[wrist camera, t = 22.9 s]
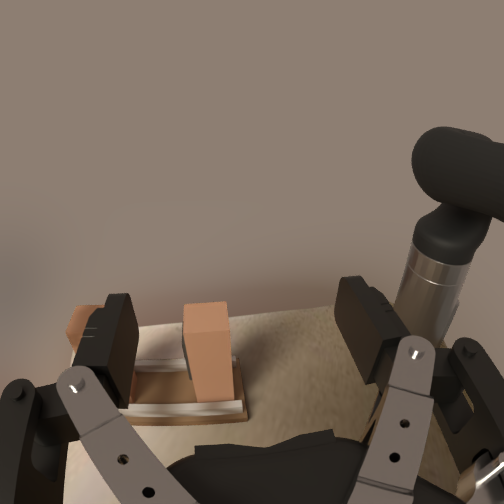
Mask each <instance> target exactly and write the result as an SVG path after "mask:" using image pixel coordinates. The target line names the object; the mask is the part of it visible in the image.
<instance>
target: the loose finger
mask: <svg viewBox="0 0 504 504" xmlns="http://www.w3.org/2000/svg"><path fill="white" fill-rule="evenodd" d="M182 347H183V352H184V357H185V361H186V366H187V370H188V375H189V379H190V380H193V384H194V389H195V393H196V398H197V402H198V403H208V402H223V401H234V387H233V373H232V358H231V342H230V328H229V320H228V312H227V304H226V301H224V302H211V303H196V304H184V321H183V328H182Z"/></svg>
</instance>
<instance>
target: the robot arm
mask: <svg viewBox="0 0 504 504" xmlns="http://www.w3.org/2000/svg"><path fill="white" fill-rule="evenodd" d="M412 168H413V173H414V176H415V179H416V180H417V182H418V184H419V186H420V187H421V188H422V190H423V191H424V192H425V193H426V194H427V195H428V196H430V197H431V198H432V199H434V200H436V201H438V202H441V203H442V204H441V205H440V206H439V207H438V208H437V209H435V210H434V211H432V212H431V213H429V214H427V215H425V216H423V217H422V218H421V219H419V221H418V222H417V224H416V226H415V230H414V234H413V239H412V242H411V246H410V250H409V254H408V258H407V262H406V266H405V270H404V273H403V277H402V280H401V284H400V287H399V290H398V294H397V297H396V300H395V303H394V307H392V306H391V304H389V302H388V300H387V299H386V297H385V296H384V295H383V294H382V293H381V292H380V291H378V290H377V289H376V288H374V287H369V286H368V285H367V284H366V282H365V281H364V279H363V278H362V277H361V276H349V277H342V278H341V279H340V282H339V288H338V293H337V298H336V303H335V309H334V315H335V321H336V324H337V326H338V328H339V330H340V332H341V334H342V336H343V338H344V340H345V342H346V344H347V346H348V349H349V351H350V353H351V355H352V357H353V359H354V361H355V363H356V366H357V368H358V370H359V372H360V374H361V376H362V378H363V381H364V383H365V385H367V384H371V383H376V384H377V386H378V388H379V390H378V393H377V395H376V398H375V401H374V404H373V407H372V410H371V413H370V415H369V418H368V421H367V423H366V426H365V429H364V431H363V433H362V435H361V437H360V439H359V442H358V441H355V440H352V439H347V438H340V437H335V436H334V433H333V430H332V429H329V430H324V431H319V432H313V433H308V434H302V435H299V436H296V437H294V438H291V439H289V440H286V441H284V442H281V443H278V444H276V445H273V446H270V447H266V448H261V447H252V446H243V445H235V444H218V445H199V446H195V454H194V455H190V456H187V457H185V458H182V459H180V460H178V461H176V462H174V463H173V464H171V465H170V466H168V467H167V468H165V467H164V466H163V464H162V463H161V462H160V461H159V460H158V459H157V457H156V456H155V455H154V454H153V453H152V451H151V450H150V449H149V448H148V446H147V445H146V444H145V443H144V441H143V440H142V439H141V438H140V436H139V435H138V434H137V432H136V431H135V430H134V428H133V427H132V426H131V424H130V423H129V422H128V420H127V419H126V418H125V416H124V415H123V414H122V413H120V412H119V410H118V409H128V406H129V398H130V391H131V384H132V378H133V371H134V365H135V359H136V353H137V347H138V341H139V329H138V323H137V320H136V316H135V313H134V310H133V305H132V302H131V298H130V295H129V294H128V293H124V294H123V293H122V294H109V295H108V297H107V300H106V303H105V305H104V308H97V309H96V310H95V311H94V312H93V313H92V314H91V315H90V316H89V318H88V321H87V323H86V326H85V329H84V332H83V334H82V337H81V340H80V343H79V346H78V349H77V352H76V355H75V358H74V361H73V364H72V367H70V368H68V369H67V370H65V371H64V372H62V374H61V375H60V376H59V378H58V380H57V382H56V383H54V384H50V385H46V386H41V387H37V388H35V387H34V385H33V384H32V383H31V382H30V381H29V380H27V379H17V380H14V381H12V382H11V383H9V384H8V385H7V386H6V388H5V389H4V390H3V393H2V396H1V399H0V504H63V493H64V480H65V469H66V460H67V451H68V444H69V442H73V441H78V440H80V441H81V443H82V445H83V446H84V448H85V450H86V451H87V453H88V455H89V456H90V458H91V460H92V461H93V463H94V465H95V466H96V468H97V469H98V471H99V472H100V474H101V476H102V477H103V479H104V480H105V482H106V483H107V485H108V486H109V487H110V489H111V490H112V492H113V493H114V495H115V496H116V497H117V499H118V500H119V501H120V503H121V504H504V379H503V377H502V376H501V374H500V372H499V371H498V369H497V368H496V366H495V365H494V363H493V362H492V360H491V359H490V357H489V356H488V354H487V353H486V352H485V350H484V349H483V347H482V346H481V345H480V344H479V343H478V342H477V341H475V340H473V339H471V338H459V339H458V340H456V341H455V343H454V345H453V347H452V349H449V348H439V347H440V345H441V343H442V341H443V339H444V337H445V335H446V333H447V331H448V328H449V326H450V324H451V322H452V320H453V317H454V315H455V313H456V310H457V308H458V306H459V300H458V297H459V294H460V292H461V289H462V287H463V284H464V281H465V279H466V276H467V273H468V270H469V267H470V265H471V262H472V259H473V256H474V253H475V251H476V249H477V248H478V247H479V246H480V245H481V243H482V242H483V240H484V238H485V236H486V234H487V231H488V229H489V226H490V223H491V220H492V217H494V218H496V219H498V220H500V221H502V222H504V144H503V143H498V142H493V141H492V140H491V139H490V138H488V137H486V136H484V135H482V134H479V133H475V132H471V131H466V130H461V129H457V128H452V127H436V128H433V129H431V130H429V131H427V132H425V133H424V134H423V135H422V136H421V137H420V138H419V140H418V141H417V143H416V144H415V146H414V149H413V152H412ZM464 389H465V390H466V392H467V394H468V396H469V398H470V399H471V401H472V403H473V406H474V413H473V411H472V409H471V408H470V406H469V404H468V402H467V400H466V398H465V396H464V395H463V393H462V392H463V390H464ZM432 411H433V413H434V415H435V417H436V420H437V422H438V424H439V426H440V428H441V431H442V433H443V435H444V437H445V440H446V442H447V444H448V447H449V449H450V451H451V454H452V456H453V458H454V461H455V463H456V466H457V468H458V470H459V473H460V476H459V478H458V483H457V489H456V496H457V497H456V496H454V495H453V494H451V493H449V492H447V491H445V490H443V489H441V488H439V487H437V486H436V485H434V484H432V483H430V482H428V481H426V480H425V479H423V478H421V477H419V476H418V475H417V474H418V471H419V467H420V463H421V460H422V456H423V452H424V448H425V443H426V439H427V435H428V430H429V425H430V420H431V415H432Z"/></svg>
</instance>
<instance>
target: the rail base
mask: <svg viewBox="0 0 504 504" xmlns="http://www.w3.org/2000/svg"><path fill="white" fill-rule="evenodd" d="M97 308H104V305H82V306H81V305H80V306H76V308H75V310H74V313H73V315H72V318H71V320H70V322H69V325H68V327H67V329H66V335H67V337H68V339H69V341H70V343H71V345H72V347H73V349H74V351H75V354H76V352H77V349H78V346H79V343H80V340H81V337H82V334H83V332H84V329H85V326H86V323H87V321H88V318H89V316H90V315H91V314H92V313H93V312H94V311H95V310H96V309H97ZM231 358H232V373H233V387H234V401H223V402H208V403H198V402H197V398H196V393H195V389H194V384H193V380H190V379H189V375H188V370H187V366H186V361H185V359H162V360H135V365H134V371H133V378H132V384H131V391H130V398H129V406H128V409H118V410H119V412H120V413H122V414H123V415H124V416H125V418H126V419H127V420H128V422H129V423H130V424H131V425H138V426H183V425H208V424H223V423H236V422H246V421H248V417H247V410H246V404H245V397H244V391H243V384H242V377H241V370H240V363H239V358H236V356H235V355H234V356H231Z"/></svg>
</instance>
